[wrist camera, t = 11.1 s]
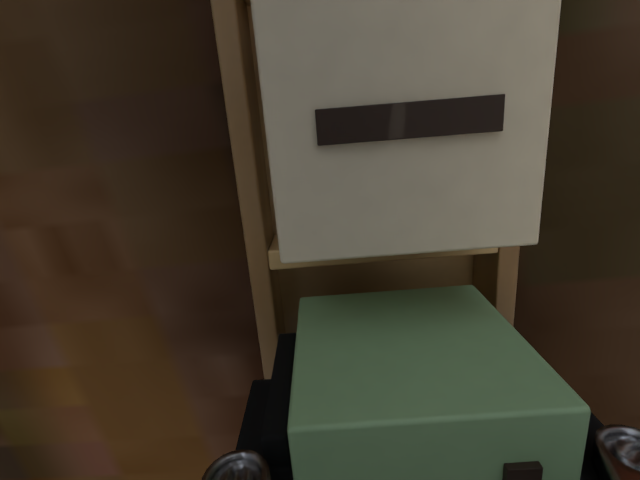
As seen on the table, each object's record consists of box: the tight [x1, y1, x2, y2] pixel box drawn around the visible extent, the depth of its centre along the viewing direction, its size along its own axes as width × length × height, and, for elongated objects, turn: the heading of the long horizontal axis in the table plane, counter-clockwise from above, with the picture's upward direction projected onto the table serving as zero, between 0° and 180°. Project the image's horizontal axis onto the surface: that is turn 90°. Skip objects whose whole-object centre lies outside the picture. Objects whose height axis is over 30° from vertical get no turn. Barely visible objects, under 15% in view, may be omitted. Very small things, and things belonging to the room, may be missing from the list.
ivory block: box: [250, 0, 561, 264], centre depth 9 cm, size 5×5×5 cm
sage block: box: [287, 285, 591, 480], centre depth 9 cm, size 5×5×5 cm
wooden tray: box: [210, 0, 520, 379], centre depth 11 cm, size 8×22×2 cm, turn 4°
